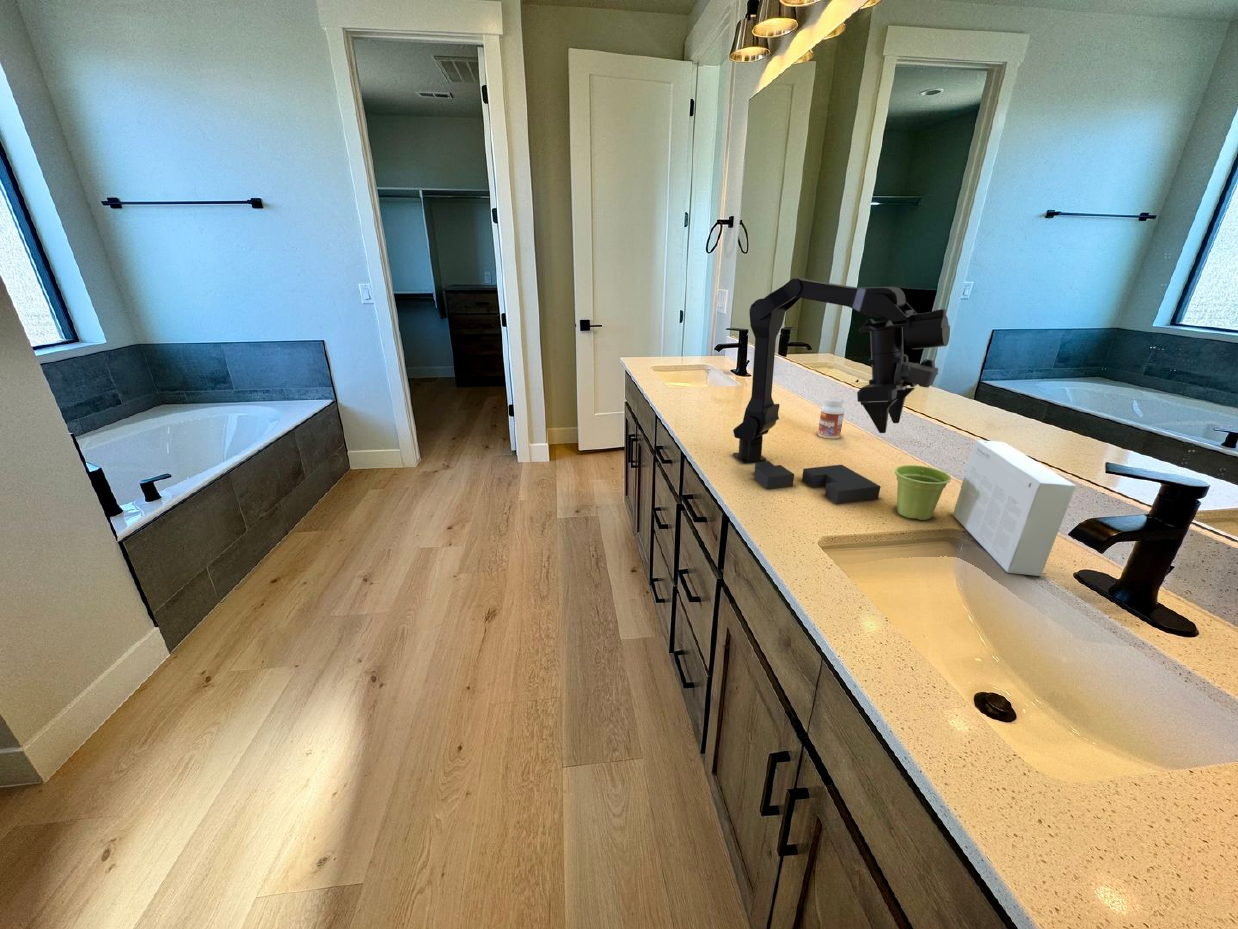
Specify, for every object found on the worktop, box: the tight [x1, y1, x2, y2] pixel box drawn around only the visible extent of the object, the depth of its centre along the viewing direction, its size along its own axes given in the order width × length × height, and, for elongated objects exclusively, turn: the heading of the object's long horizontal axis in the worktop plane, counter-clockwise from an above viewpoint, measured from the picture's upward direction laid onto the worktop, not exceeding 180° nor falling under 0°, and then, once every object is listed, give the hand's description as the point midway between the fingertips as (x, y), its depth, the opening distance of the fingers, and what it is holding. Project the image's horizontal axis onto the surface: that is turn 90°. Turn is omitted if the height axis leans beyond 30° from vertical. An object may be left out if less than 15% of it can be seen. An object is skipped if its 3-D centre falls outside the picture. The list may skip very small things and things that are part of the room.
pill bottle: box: [817, 396, 845, 440], centre depth 142 cm, size 6×6×11 cm
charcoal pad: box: [801, 464, 881, 505], centre depth 109 cm, size 13×10×3 cm
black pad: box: [753, 460, 795, 490], centre depth 114 cm, size 6×9×3 cm
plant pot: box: [894, 464, 952, 521], centre depth 96 cm, size 9×9×9 cm
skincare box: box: [952, 439, 1077, 577], centre depth 84 cm, size 21×5×16 cm, turn 168°
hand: (889, 427), depth 102 cm, fingers open, 9 cm apart
